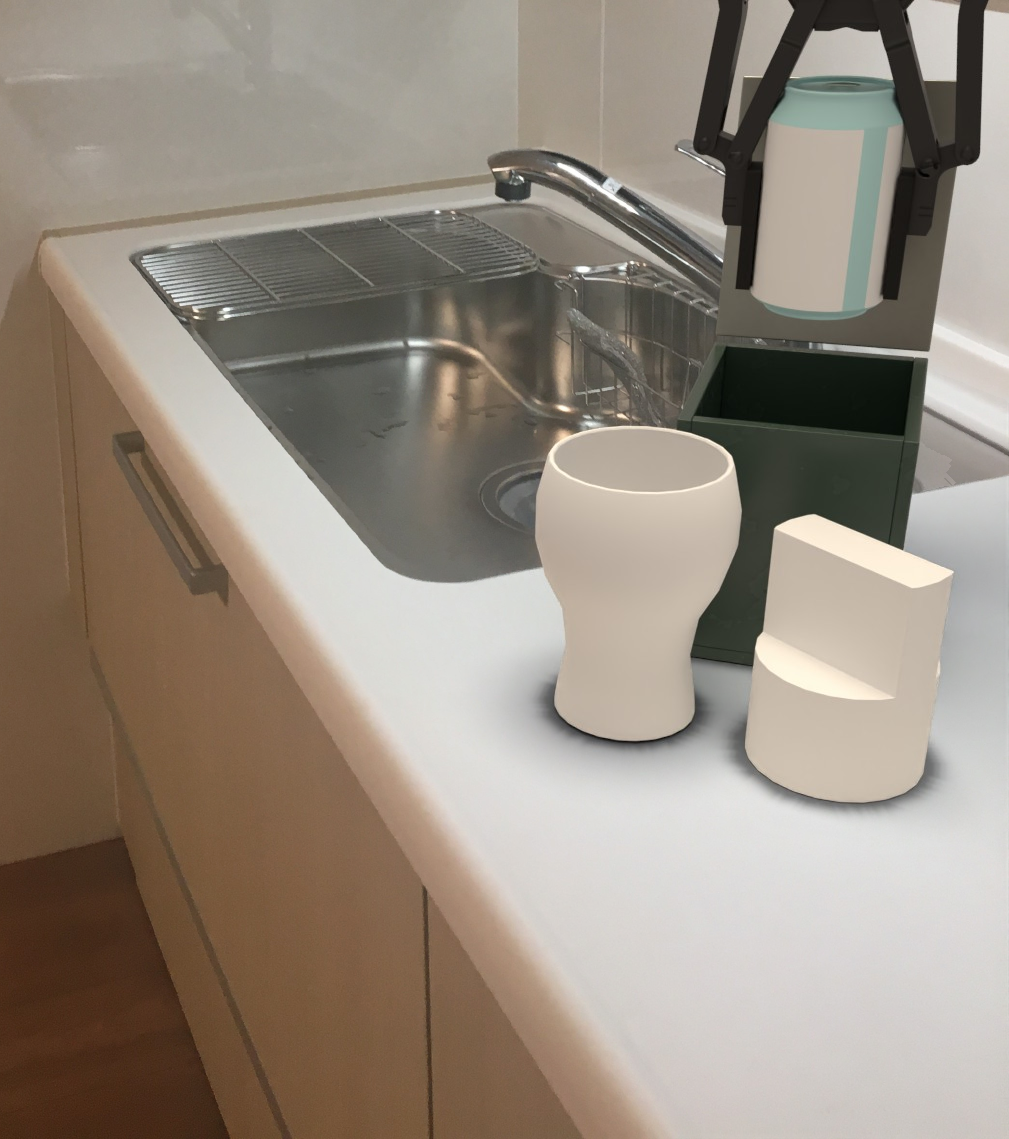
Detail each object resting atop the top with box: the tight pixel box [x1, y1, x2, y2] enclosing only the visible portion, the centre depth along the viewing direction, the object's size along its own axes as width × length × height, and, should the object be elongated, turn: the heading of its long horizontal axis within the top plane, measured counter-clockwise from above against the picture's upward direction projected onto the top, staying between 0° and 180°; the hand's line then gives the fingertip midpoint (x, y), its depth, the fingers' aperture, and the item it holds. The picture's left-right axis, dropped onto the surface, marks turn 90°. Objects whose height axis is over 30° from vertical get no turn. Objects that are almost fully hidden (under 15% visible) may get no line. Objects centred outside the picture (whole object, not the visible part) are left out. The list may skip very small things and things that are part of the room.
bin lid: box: [714, 75, 958, 353], centre depth 94 cm, size 16×13×1 cm
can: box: [751, 74, 906, 320], centre depth 84 cm, size 7×7×12 cm
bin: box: [675, 340, 929, 666], centre depth 94 cm, size 15×13×15 cm
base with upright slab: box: [744, 514, 954, 804], centre depth 80 cm, size 9×9×12 cm
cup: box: [534, 425, 742, 742], centre depth 84 cm, size 11×11×15 cm
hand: (817, 287), depth 86 cm, fingers closed on can, 7 cm apart
